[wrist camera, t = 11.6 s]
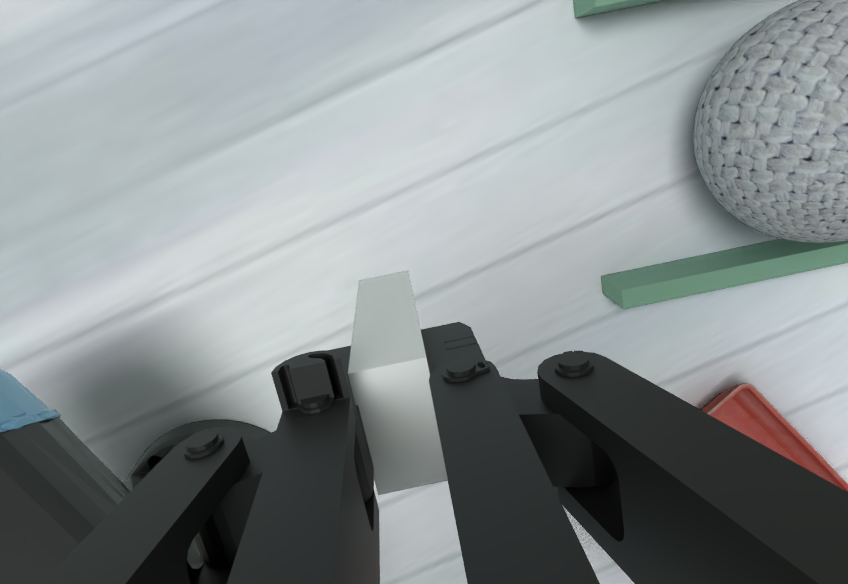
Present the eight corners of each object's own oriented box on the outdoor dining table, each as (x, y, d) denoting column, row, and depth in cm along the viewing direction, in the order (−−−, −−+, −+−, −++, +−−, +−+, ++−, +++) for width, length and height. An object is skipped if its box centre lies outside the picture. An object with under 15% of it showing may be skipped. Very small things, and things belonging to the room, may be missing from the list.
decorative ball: (726, -29, 39) (925, -115, 25) (887, 71, 42) (1150, 45, 28) (617, 171, 43) (736, 196, 28) (773, 251, 45) (954, 311, 31)
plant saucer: (690, 600, 56) (709, 628, 53) (570, 499, 51) (582, 524, 48) (837, 480, 53) (866, 502, 50) (723, 362, 48) (747, 379, 45)
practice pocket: (602, 293, 45) (623, 309, 42) (572, -6, 39) (593, -20, 35) (861, 239, 46) (905, 250, 42) (874, -66, 39) (928, -87, 35)
